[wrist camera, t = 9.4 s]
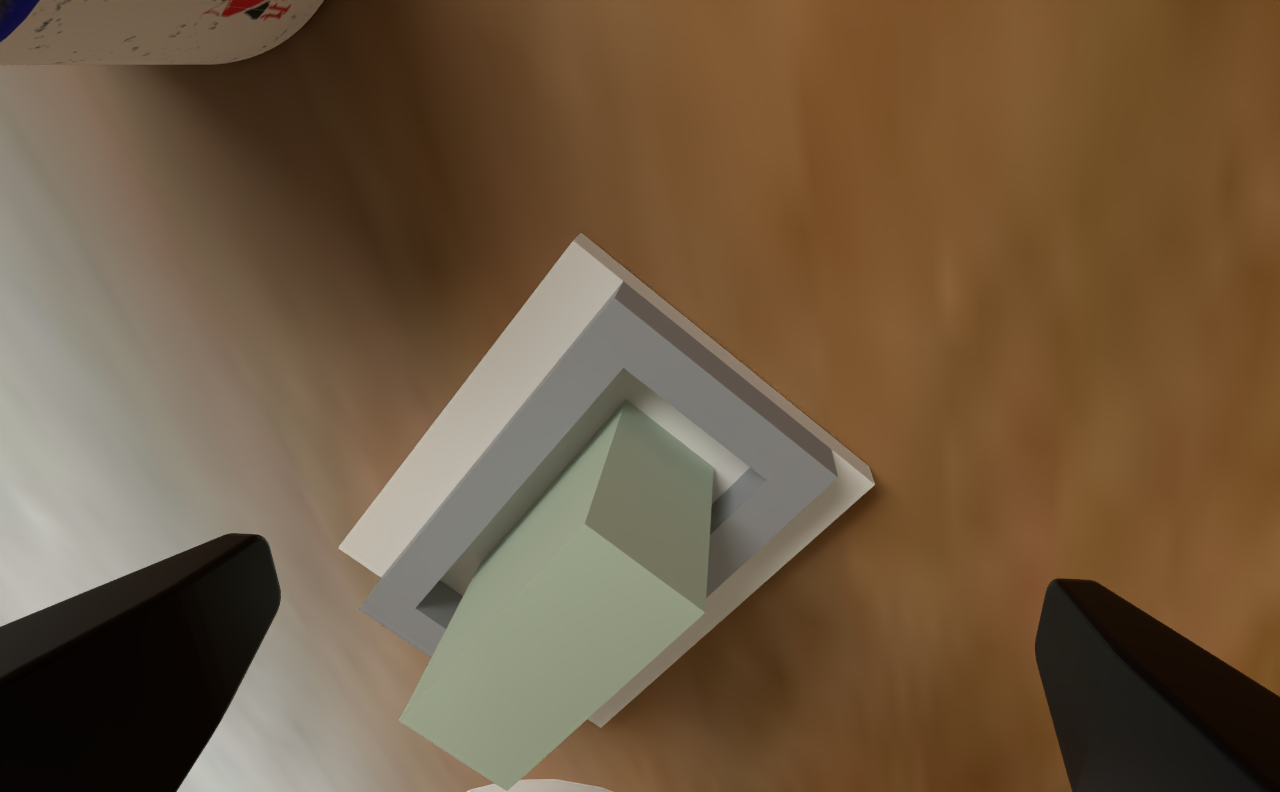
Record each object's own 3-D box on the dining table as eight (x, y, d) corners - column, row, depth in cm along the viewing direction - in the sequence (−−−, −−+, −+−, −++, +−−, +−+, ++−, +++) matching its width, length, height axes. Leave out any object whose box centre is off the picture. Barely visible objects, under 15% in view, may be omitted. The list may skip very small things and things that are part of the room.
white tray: (868, 466, 21) (884, 514, 19) (605, 704, 26) (592, 766, 23) (580, 232, 20) (559, 254, 17) (352, 529, 24) (313, 578, 22)
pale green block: (561, 620, 23) (507, 791, 18) (480, 563, 23) (399, 720, 17) (713, 467, 21) (705, 612, 15) (626, 399, 20) (584, 524, 15)
